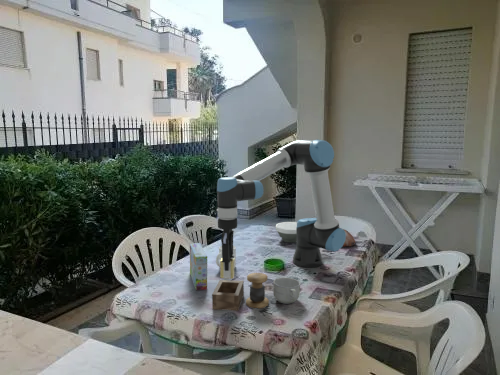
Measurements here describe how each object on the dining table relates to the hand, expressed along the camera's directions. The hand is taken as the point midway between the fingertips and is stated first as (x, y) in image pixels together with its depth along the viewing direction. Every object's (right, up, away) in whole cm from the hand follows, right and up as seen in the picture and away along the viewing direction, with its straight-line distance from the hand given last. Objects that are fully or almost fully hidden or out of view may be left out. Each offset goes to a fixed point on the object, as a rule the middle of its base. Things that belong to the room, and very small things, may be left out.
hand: (228, 275), depth 144 cm
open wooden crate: (0, -11, +2) cm, 11 cm away
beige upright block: (0, 0, 0) cm, 1 cm away
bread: (+63, 0, +78) cm, 101 cm away
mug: (-4, -6, +38) cm, 39 cm away
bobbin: (+11, -11, 0) cm, 16 cm away
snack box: (-15, -8, +23) cm, 28 cm away
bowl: (+34, +1, +85) cm, 92 cm away
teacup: (+23, -11, +1) cm, 26 cm away
